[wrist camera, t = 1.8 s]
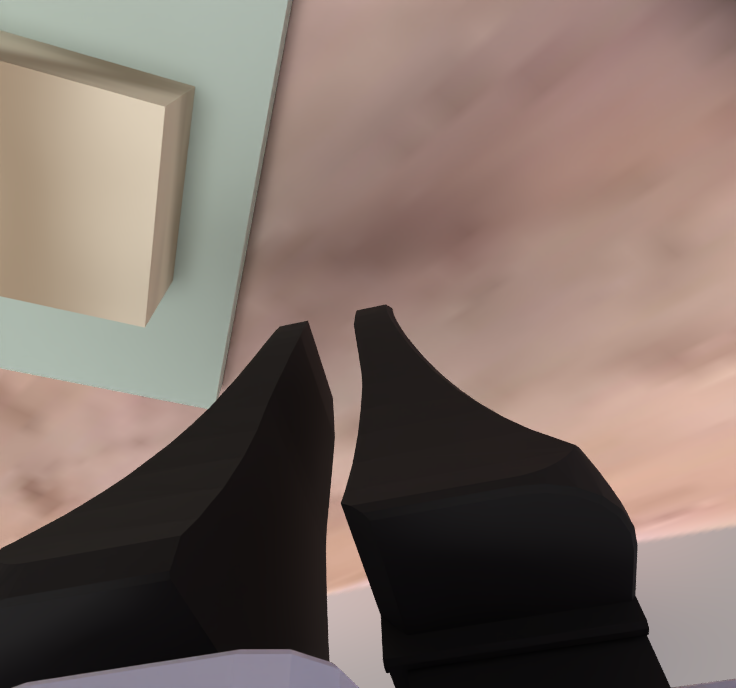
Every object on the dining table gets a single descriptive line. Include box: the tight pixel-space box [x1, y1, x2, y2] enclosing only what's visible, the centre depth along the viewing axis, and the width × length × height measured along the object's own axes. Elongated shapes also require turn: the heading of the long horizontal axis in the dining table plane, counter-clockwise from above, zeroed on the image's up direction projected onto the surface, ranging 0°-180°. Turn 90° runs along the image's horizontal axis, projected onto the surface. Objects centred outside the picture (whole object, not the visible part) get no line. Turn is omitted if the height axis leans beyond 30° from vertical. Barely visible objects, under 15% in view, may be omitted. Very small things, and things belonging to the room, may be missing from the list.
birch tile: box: [0, 30, 195, 328], centre depth 15 cm, size 6×6×3 cm
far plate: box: [0, 0, 293, 409], centre depth 17 cm, size 11×16×2 cm
